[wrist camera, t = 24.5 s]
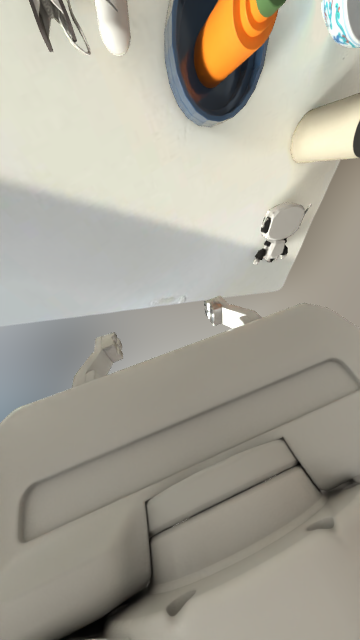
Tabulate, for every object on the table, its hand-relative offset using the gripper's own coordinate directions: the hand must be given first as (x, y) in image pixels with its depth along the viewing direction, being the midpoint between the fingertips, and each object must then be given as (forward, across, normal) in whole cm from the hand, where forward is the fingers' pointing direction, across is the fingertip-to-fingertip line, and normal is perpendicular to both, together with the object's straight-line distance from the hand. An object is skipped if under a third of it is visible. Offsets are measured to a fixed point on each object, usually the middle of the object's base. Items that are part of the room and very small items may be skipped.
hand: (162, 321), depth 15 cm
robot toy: (+31, -38, +9) cm, 50 cm away
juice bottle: (+30, -20, -20) cm, 42 cm away
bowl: (+31, -20, -21) cm, 42 cm away
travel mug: (+31, -42, -9) cm, 53 cm away
